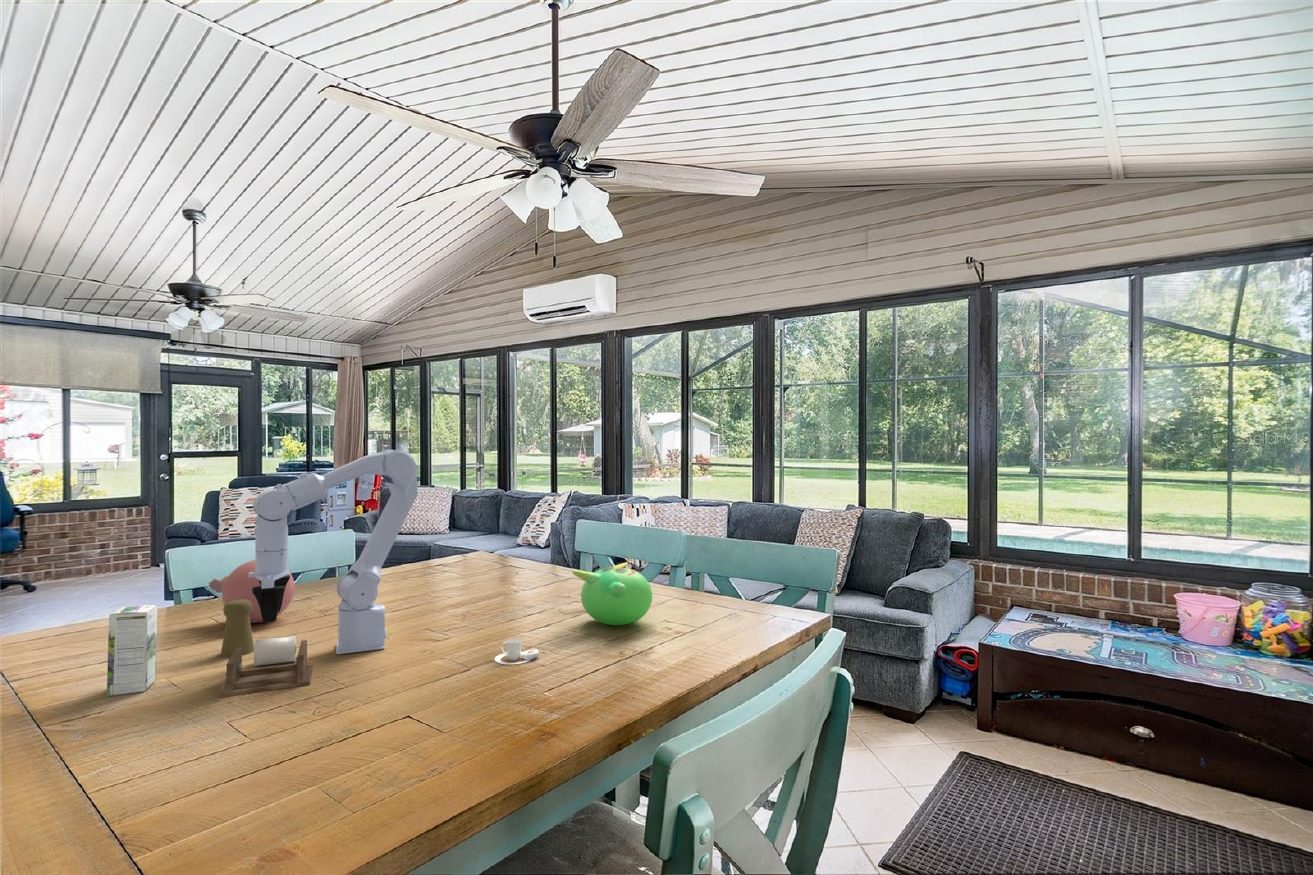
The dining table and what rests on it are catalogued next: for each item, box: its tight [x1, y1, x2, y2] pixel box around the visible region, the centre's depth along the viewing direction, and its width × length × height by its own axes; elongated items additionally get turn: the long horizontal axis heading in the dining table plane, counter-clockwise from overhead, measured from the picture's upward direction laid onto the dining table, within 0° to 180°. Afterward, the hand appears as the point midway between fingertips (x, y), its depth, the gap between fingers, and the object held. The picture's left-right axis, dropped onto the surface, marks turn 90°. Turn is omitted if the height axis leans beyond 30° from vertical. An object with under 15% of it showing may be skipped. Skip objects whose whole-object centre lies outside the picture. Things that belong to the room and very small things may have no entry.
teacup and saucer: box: [494, 638, 540, 666], centre depth 135 cm, size 9×8×4 cm
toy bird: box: [571, 562, 653, 626], centre depth 161 cm, size 18×17×15 cm
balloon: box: [208, 559, 296, 624], centre depth 162 cm, size 15×20×15 cm
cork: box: [220, 599, 255, 658], centre depth 139 cm, size 6×6×11 cm
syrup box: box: [106, 604, 158, 697], centre depth 118 cm, size 6×6×14 cm
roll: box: [253, 635, 297, 667], centre depth 132 cm, size 7×5×5 cm
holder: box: [219, 639, 314, 698], centre depth 122 cm, size 14×10×6 cm
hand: (272, 616), depth 132 cm, fingers open, 7 cm apart
